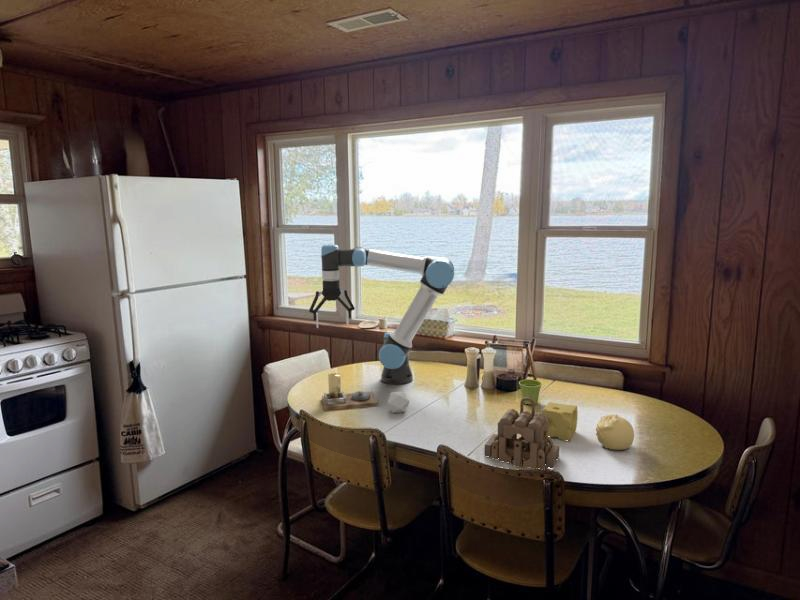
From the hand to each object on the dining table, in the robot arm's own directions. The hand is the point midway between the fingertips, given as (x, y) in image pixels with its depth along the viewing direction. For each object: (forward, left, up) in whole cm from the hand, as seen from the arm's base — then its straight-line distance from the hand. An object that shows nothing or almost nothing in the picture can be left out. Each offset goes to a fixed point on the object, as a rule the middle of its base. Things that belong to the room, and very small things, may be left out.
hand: (332, 326), depth 241 cm
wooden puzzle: (-53, +85, -29) cm, 104 cm away
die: (-22, +36, -29) cm, 51 cm away
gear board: (-4, +21, -29) cm, 36 cm away
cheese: (-73, +72, -29) cm, 107 cm away
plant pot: (-77, +41, -29) cm, 92 cm away
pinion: (+2, +21, -27) cm, 34 cm away
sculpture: (-86, +86, -29) cm, 125 cm away
